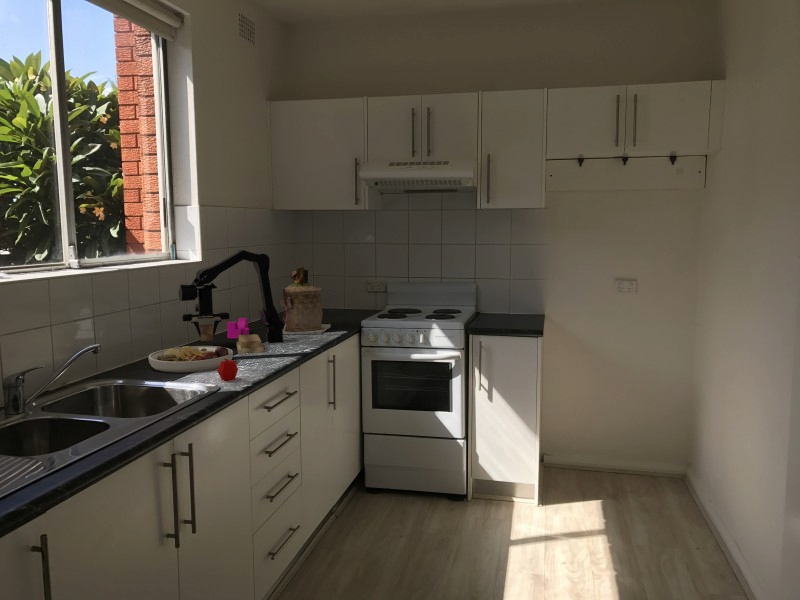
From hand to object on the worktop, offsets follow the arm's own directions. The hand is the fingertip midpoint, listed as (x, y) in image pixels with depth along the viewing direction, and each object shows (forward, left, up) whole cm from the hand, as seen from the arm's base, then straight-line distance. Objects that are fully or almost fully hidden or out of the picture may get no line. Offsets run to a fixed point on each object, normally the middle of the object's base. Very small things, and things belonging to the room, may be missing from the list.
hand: (207, 336), depth 282 cm
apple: (-6, +61, -6) cm, 62 cm away
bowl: (+6, +31, -6) cm, 32 cm away
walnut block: (0, 0, -1) cm, 1 cm away
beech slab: (-17, +7, -6) cm, 19 cm away
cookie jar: (-45, -34, -6) cm, 57 cm away
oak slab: (-17, +7, -3) cm, 18 cm away
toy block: (-15, -30, -6) cm, 35 cm away
